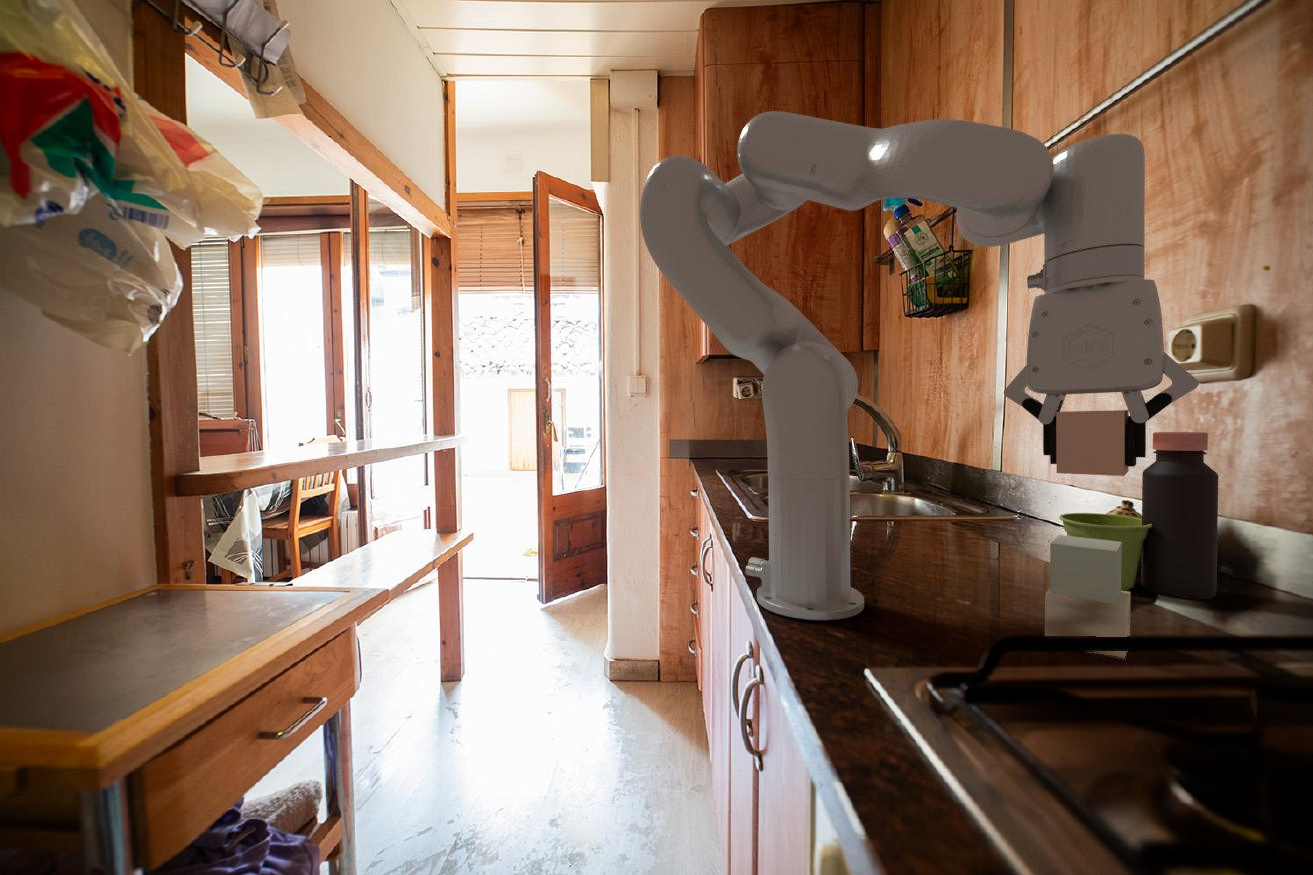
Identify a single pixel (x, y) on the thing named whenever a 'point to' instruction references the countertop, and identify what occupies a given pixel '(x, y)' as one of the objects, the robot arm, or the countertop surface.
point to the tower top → (1086, 568)
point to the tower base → (1087, 618)
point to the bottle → (1180, 518)
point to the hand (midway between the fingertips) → (1092, 462)
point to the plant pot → (1111, 537)
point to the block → (1091, 442)
